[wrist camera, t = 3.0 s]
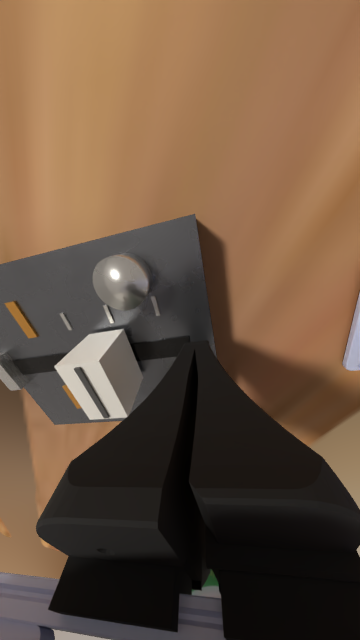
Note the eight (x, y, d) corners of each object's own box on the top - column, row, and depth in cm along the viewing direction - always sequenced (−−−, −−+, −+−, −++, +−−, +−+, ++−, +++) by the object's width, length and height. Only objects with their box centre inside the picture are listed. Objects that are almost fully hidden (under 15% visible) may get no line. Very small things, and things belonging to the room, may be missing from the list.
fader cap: (123, 328, 10) (97, 362, 8) (143, 377, 12) (127, 419, 9) (89, 334, 11) (52, 368, 8) (112, 380, 13) (88, 421, 10)
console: (195, 217, 10) (194, 209, 6) (221, 393, 15) (228, 432, 12) (-26, 274, 12) (-100, 287, 9) (68, 405, 18) (43, 440, 15)
